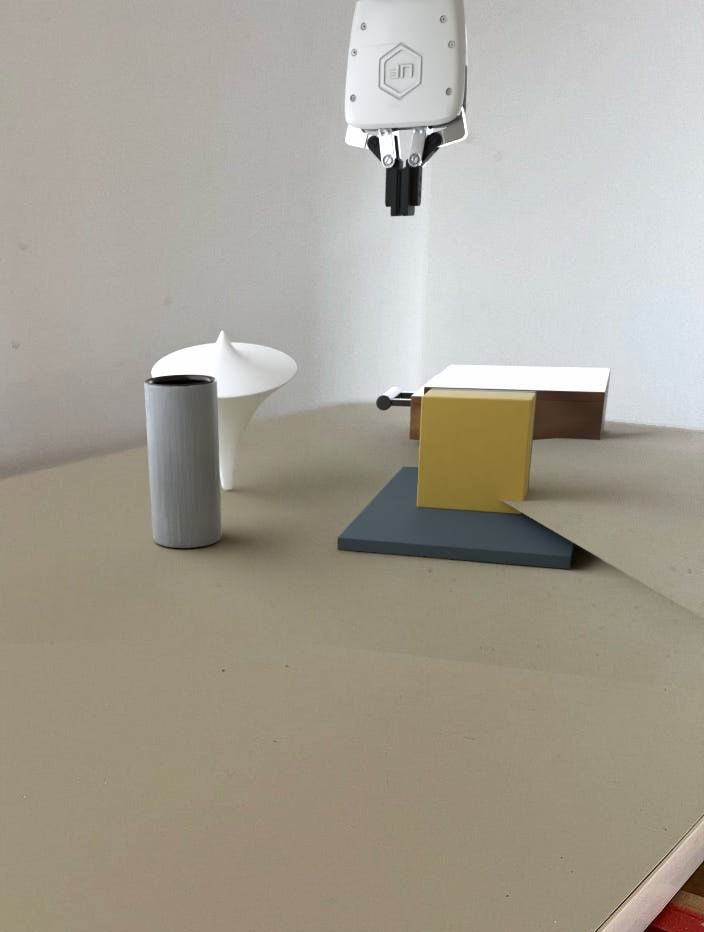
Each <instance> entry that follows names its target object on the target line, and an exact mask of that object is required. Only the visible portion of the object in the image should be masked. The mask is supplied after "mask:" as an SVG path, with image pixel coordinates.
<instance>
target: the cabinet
mask: <svg viewBox="0 0 704 932" xmlns="http://www.w3.org/2000/svg"><path fill="white" fill-rule="evenodd" d="M611 370H612V369H611V367H576V366H575V367H574V366H573V367H567V366H526V365H525V366H524V365H522V366H521V365H480V364H479V365H477V364H474V365H473V364H450V365H449V366H448V367H446V368H445V369H443V371H441V372H440V373H439V374H437V375H438V376H437V377H435V376H434V377H435V378H434V377H433V378H434V379H433V378H432V379H433V380H432V381H431V382H429V381H428V382H429V383H428V382H427V383H428V384H427V385H426V386H425V387H424V395H425V394H426V393H427V392H428V391H429V390H430V389H431V388H442V389H476V390H509V391H536V392H537V397H536V408H535V420H534V431H533V441H538V440H540V441H541V440H552V439H566V440H567V439H568V440H587V441H588V440H589V441H591V440H592V441H600V440H601V437H602V436H603V435H604V430H605V422H606V413H607V406H608V405H607V404H608V396H609V388H610V377H611Z"/></svg>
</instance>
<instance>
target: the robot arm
mask: <svg viewBox="0 0 704 932" xmlns="http://www.w3.org/2000/svg"><path fill="white" fill-rule="evenodd" d="M465 8H466V7H465V0H357V1H356V2H355V6H354V11H353V16H352V23H351V28H350V36H349V43H348V53H347V62H346V63H347V65H346V76H345V87H344V88H345V89H344V119H345V122H346V124H348V125H347V128H346V132H345V136H344V137H345V138H344V141H345V143H346V145H348V146H352V147H356V148H360V149H364V150H369V151H370V152H371V153H372V154H373V155H374V156H375V157H376V159H378V160H379V162H380V163H381V164H382V166H383V167H384V168H385V186H384V187H385V189H384V191H385V192H384V205H385V207H386V208H390V210H389V211H390V212H389V213H390V217H414V216H415V211H416V207H421V203H422V188H423V168H424V167H425V166H426V165H427V163H428V162H429V161H430V159H431V158H432V157H433V156H434V155H435V154H436V153H437V152H438V151H439V149H440V148H441V147H444V146H448V145H451V144H454V143H458V142H461V141H464V140H465V139H466V138H467V137H468V129H467V127H468V126H467V121H466V113H467V107H468V106H467V105H468V75H469V74H468V31H467V19H466V17H467V16H466V9H465ZM434 129H441V130H438V131H434ZM399 131H412V132H411V139H410V145H409V150H408V157H407V159H405V166H404V160H403V159H402V154H401V143H400V133H399ZM367 132H377V133H378V135H374V134H370V133H367Z"/></svg>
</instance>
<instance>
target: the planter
mask: <svg viewBox="0 0 704 932" xmlns="http://www.w3.org/2000/svg"><path fill="white" fill-rule="evenodd" d="M143 387H144V388H143V389H144V390H143V391H144V407H145V423H146V426H145V427H146V440H147V441H146V443H147V458H148V461H147V462H148V476H149V478H148V479H149V494H150V510H151V530H152V538H153V541H154V543H156V544H157V545H160V546H163V547H166V548H173V549H195V548H201V547H207V546H210V545H213V544H215V543H217V542H220V540H221V539H222V501H221V500H222V499H221V498H222V497H221V496H222V495H221V479H220V463H219V431H218V398H217V380H216V378H214V377H212V376H207V375H193V374H184V375H167V376H159V377H150V378H147V379H146V380H144V382H143Z"/></svg>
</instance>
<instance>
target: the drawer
mask: <svg viewBox="0 0 704 932" xmlns="http://www.w3.org/2000/svg"><path fill="white" fill-rule="evenodd" d="M438 375H439V374H436V375H435V376H433V377H432V378H431V379H430V380H428V382H426V383H425V384H424V385H423V386H422V387H420V388H419V389H418V390H416V391H402V389H401V388H400V387H398V386H392V387H390V388H388V390H386V391H384V392H383V393H382V394H380V395H379V396H378V397H377V398H376V401H375V405H376V407H377V409H378V410H380V411H383V412H384V411H387V410H389V409H390V408H392V407H404V408H405V407H408V408H410V411H409V414H410V415H409V432H408V433H409V435H408V439H409V440H411V441H420V423H421V401H422V396H423V395H424V387H425V386H426V385H427V384H428V383H429V382H431V381H432V380H433V379H434V378H435V377H437V376H438Z"/></svg>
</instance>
